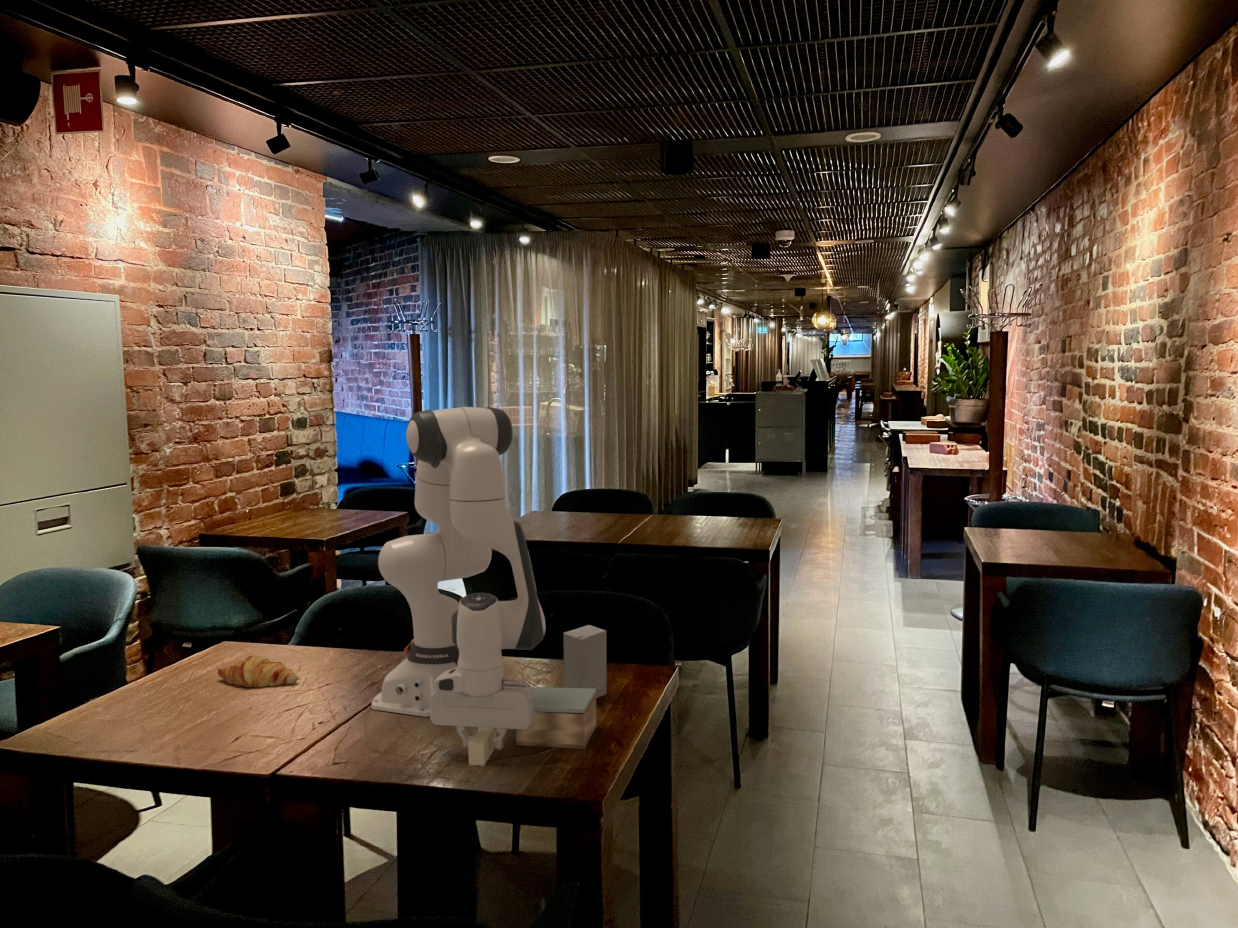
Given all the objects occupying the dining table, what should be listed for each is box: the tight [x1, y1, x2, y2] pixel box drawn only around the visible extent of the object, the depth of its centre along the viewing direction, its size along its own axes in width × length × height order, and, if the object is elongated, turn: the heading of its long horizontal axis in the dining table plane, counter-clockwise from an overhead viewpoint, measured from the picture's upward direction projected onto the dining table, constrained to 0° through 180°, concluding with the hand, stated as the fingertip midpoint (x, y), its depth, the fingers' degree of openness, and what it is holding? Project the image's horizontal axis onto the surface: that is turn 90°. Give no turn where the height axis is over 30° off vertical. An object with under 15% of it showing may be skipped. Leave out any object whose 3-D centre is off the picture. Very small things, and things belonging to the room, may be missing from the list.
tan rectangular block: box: [467, 727, 497, 767], centre depth 179 cm, size 3×9×4 cm, turn 173°
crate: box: [515, 694, 598, 750], centre depth 189 cm, size 14×12×7 cm
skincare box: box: [563, 624, 608, 699], centre depth 211 cm, size 8×7×16 cm
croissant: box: [217, 655, 299, 688], centre depth 225 cm, size 21×10×8 cm, turn 81°
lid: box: [532, 686, 596, 713], centre depth 188 cm, size 15×12×1 cm
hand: (482, 747), depth 179 cm, fingers open, 5 cm apart
